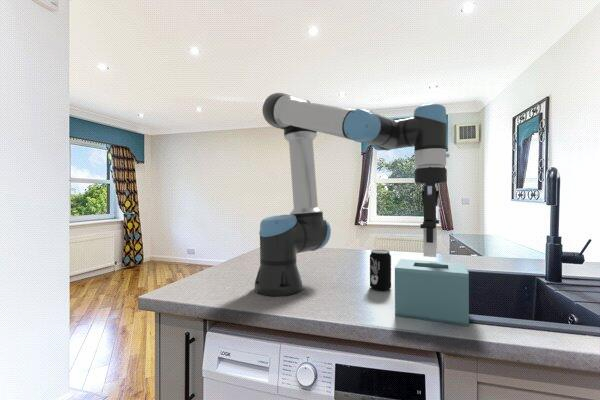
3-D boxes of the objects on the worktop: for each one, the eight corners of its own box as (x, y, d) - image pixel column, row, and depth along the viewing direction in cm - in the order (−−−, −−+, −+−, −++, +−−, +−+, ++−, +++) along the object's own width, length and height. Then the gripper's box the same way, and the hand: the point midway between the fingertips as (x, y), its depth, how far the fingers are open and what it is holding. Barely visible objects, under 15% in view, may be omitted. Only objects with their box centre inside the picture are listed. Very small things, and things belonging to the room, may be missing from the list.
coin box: (394, 315, 76) (394, 267, 76) (400, 300, 87) (400, 258, 87) (468, 326, 70) (468, 273, 69) (465, 308, 80) (464, 263, 80)
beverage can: (392, 292, 95) (391, 253, 95) (370, 291, 97) (369, 252, 96) (390, 286, 102) (390, 249, 102) (369, 285, 103) (369, 249, 103)
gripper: (447, 161, 65) (448, 262, 65) (445, 171, 88) (446, 245, 88) (410, 163, 68) (410, 259, 68) (417, 172, 91) (418, 244, 91)
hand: (430, 252), depth 78 cm, fingers open, 13 cm apart
